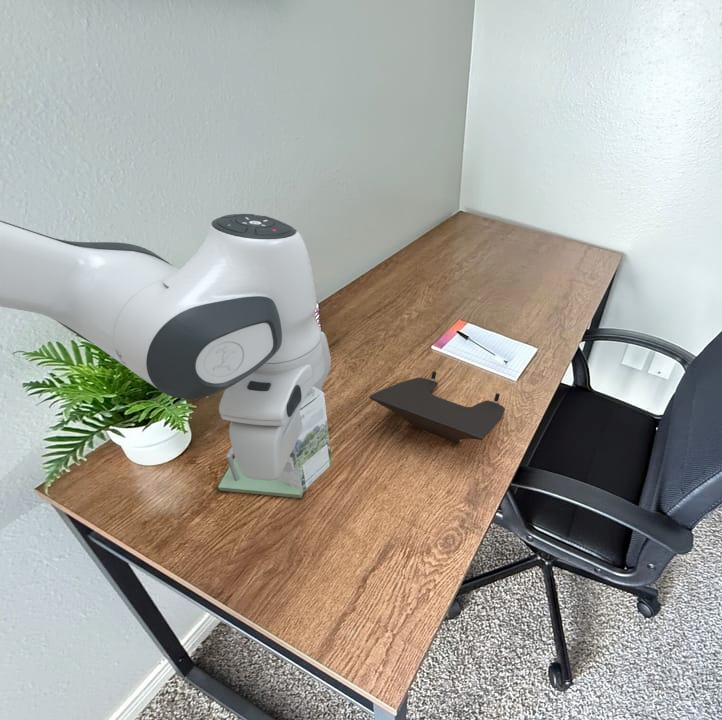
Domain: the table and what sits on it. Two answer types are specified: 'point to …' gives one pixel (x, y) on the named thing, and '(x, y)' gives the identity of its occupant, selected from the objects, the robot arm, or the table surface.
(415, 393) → the laptop tray
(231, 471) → the drying rack
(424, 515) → the table surface
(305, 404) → the syrup box
